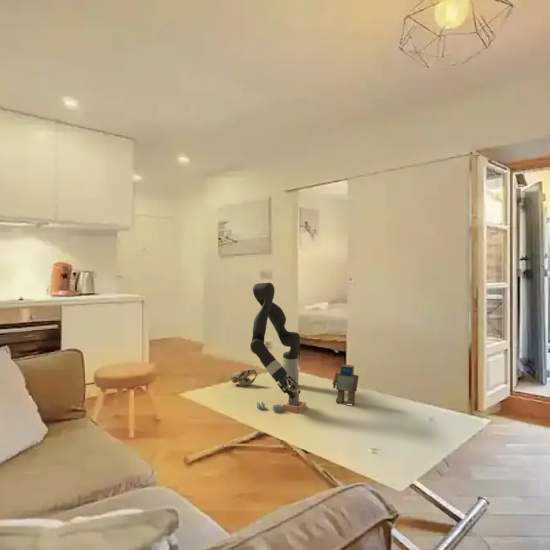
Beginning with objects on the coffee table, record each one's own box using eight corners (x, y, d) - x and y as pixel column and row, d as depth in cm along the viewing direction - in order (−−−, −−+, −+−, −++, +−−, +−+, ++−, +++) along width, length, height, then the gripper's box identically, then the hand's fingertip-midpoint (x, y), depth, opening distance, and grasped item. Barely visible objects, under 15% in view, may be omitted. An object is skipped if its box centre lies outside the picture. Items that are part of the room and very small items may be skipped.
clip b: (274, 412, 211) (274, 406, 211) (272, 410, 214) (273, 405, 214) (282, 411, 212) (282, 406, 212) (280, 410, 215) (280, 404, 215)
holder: (279, 410, 215) (279, 404, 215) (287, 404, 225) (287, 399, 225) (300, 413, 211) (300, 408, 211) (307, 407, 221) (307, 401, 221)
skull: (258, 384, 255) (254, 368, 255) (233, 391, 255) (228, 375, 256) (259, 380, 265) (255, 365, 265) (235, 387, 265) (231, 371, 265)
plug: (291, 405, 221) (291, 383, 221) (298, 406, 219) (299, 384, 219) (288, 407, 217) (289, 385, 217) (296, 408, 215) (296, 386, 215)
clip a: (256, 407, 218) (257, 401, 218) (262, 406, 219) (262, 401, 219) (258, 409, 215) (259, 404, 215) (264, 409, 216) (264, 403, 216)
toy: (331, 404, 228) (332, 366, 227) (336, 399, 236) (337, 363, 236) (355, 407, 223) (356, 369, 223) (358, 402, 232) (359, 366, 232)
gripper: (276, 369, 214) (297, 394, 210) (286, 363, 227) (306, 387, 223) (266, 378, 216) (286, 403, 212) (276, 372, 229) (296, 396, 225)
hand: (296, 395), depth 217 cm, fingers open, 8 cm apart
